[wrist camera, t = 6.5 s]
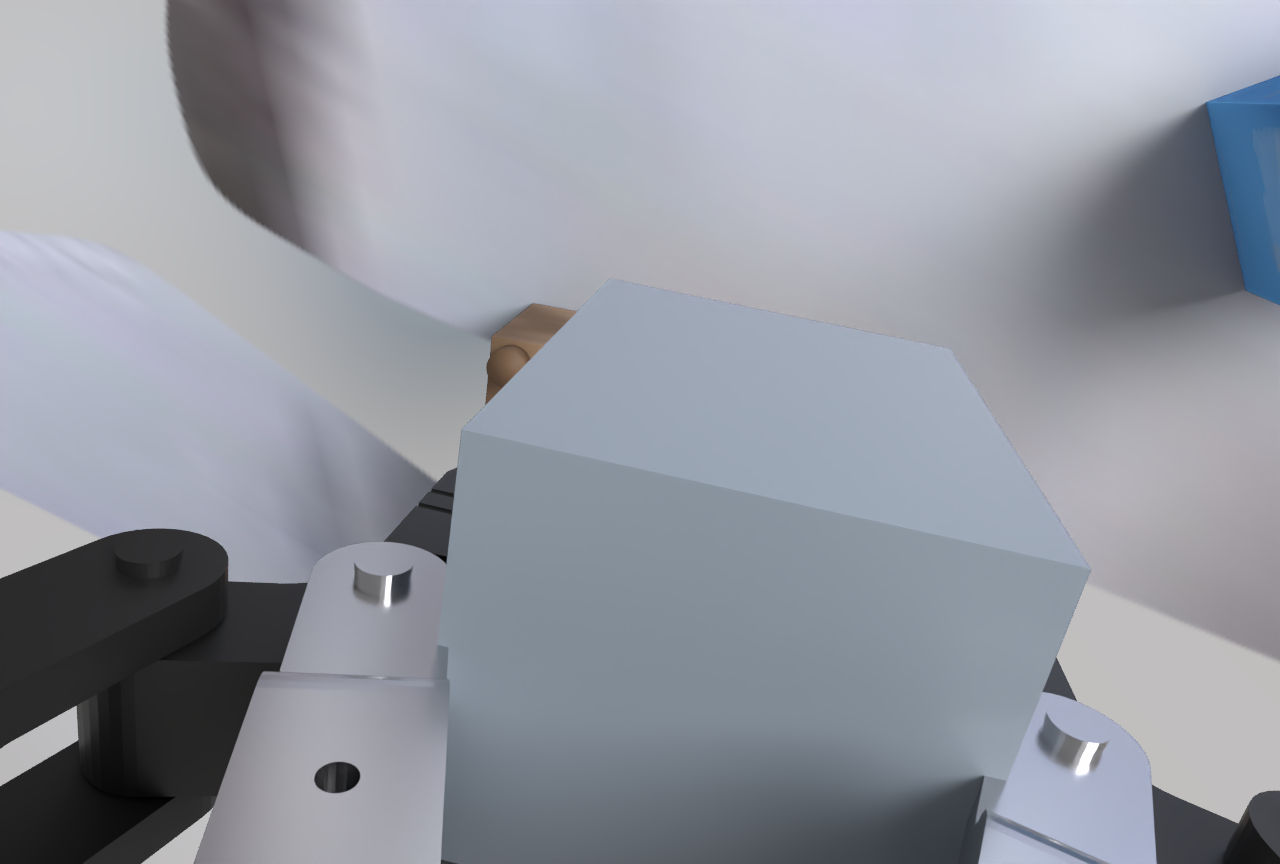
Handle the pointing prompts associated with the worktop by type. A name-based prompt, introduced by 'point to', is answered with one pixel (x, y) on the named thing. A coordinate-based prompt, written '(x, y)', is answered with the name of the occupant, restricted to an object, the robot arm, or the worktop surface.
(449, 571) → the grey brick
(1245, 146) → the perfume bottle
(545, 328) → the brown studded stepped block
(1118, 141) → the worktop surface
